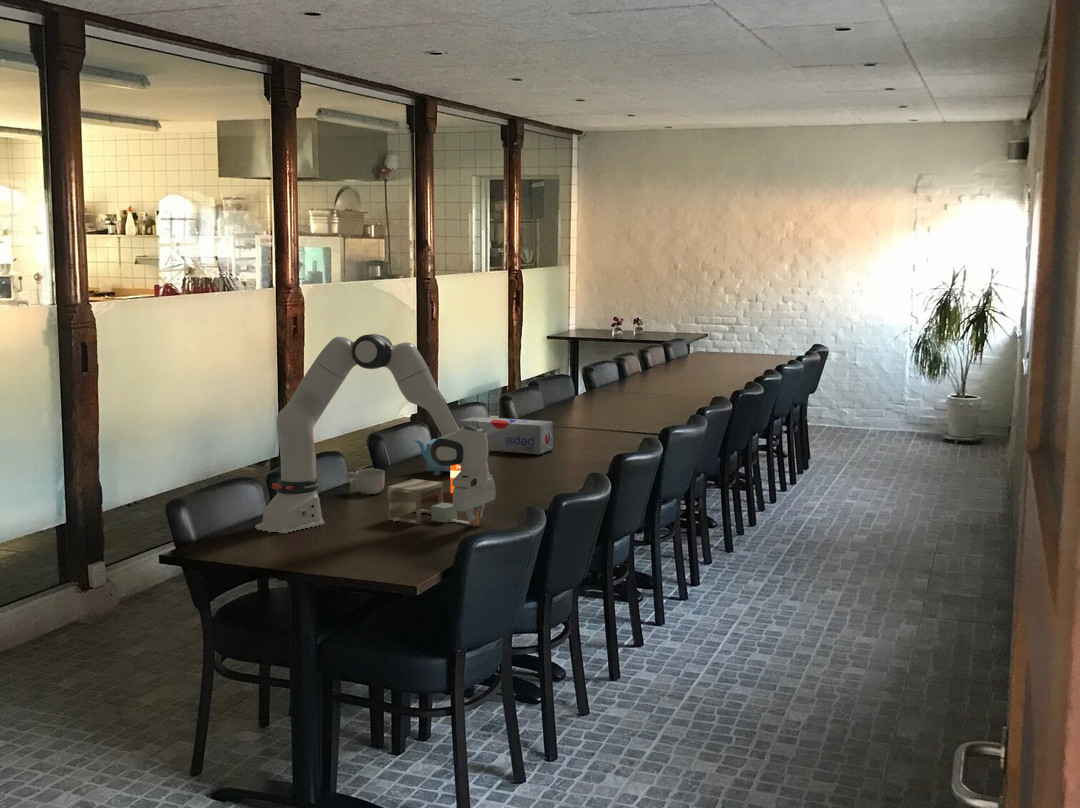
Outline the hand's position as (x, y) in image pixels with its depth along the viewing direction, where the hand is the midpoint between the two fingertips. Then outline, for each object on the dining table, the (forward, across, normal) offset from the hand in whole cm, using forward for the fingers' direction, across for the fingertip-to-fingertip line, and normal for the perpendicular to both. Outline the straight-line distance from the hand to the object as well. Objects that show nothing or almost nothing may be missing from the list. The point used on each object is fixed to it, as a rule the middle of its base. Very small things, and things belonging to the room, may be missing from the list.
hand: (475, 519), depth 345 cm
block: (+2, -1, -7) cm, 8 cm away
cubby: (+2, 0, -22) cm, 22 cm away
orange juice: (+2, -41, -30) cm, 50 cm away
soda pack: (+3, -122, -59) cm, 135 cm away
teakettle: (+2, -67, -56) cm, 87 cm away
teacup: (+2, -23, -61) cm, 65 cm away
